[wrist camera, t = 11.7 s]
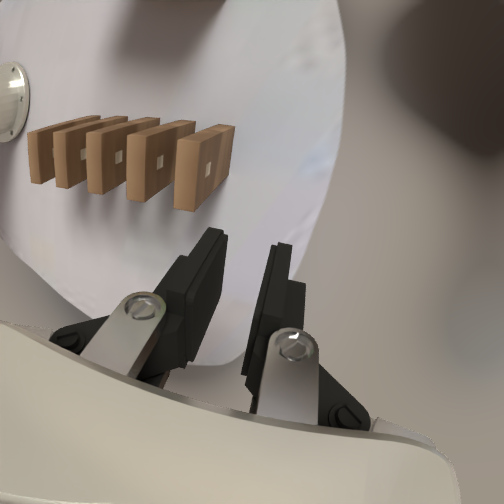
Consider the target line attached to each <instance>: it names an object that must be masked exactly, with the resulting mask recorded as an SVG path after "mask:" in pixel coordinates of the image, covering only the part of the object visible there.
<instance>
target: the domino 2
mask: <svg viewBox="0 0 504 504" xmlns="http://www.w3.org/2000/svg"><path fill="white" fill-rule="evenodd" d="M124 122H128V116H114V117H109V118H105V119H101V120H96V121H92V122H88V123H85V124H81V125H77V126H74V127H70V128H66V129H63V130H60V131H56V132H53V145H54V165H55V178H56V187H59V188H65V189H69V188H71V187H73V186H74V185H76V184H78V183H80V182H82V181H84V180H86V179H87V163H86V133H88V132H91V131H95V130H98V129H102V128H105V127H109V126H112V125H116V124H120V123H124Z"/></svg>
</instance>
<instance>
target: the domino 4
mask: <svg viewBox="0 0 504 504" xmlns="http://www.w3.org/2000/svg"><path fill="white" fill-rule="evenodd" d="M195 125H196V121H188V120H178V121H174V122H171V123H167V124H163V125H160V126H156V127H153V128H149V129H146V130H143V131H139V132H136V133H133V134H130V135H127V167H126V179H127V199H128V200H133V201H139V202H144V203H145V202H146V201H147V200H149V199H150V198H151V197H153V196H154V195H155V194H156V193H158V192H159V191H161V190H162V189H163V188H165V187H166V186H167V185H169V184H170V183H171V182H173V181H174V180H175V167H176V153H177V140H179V139H181V138H184V137H186V136H189V135H191V134H194V133H195Z"/></svg>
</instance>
